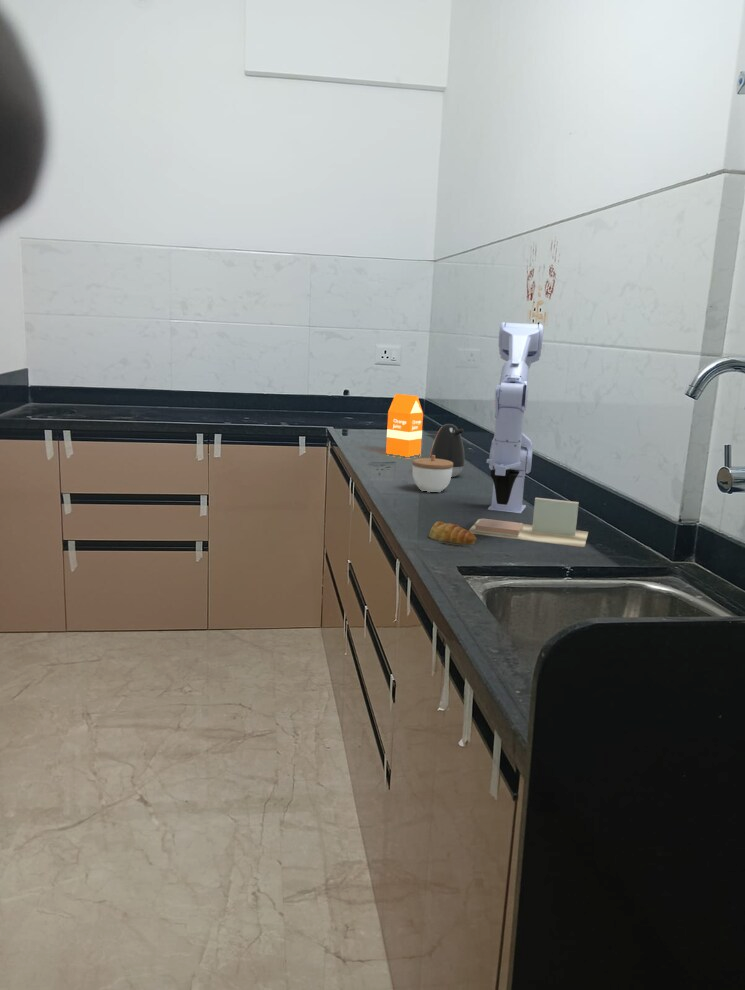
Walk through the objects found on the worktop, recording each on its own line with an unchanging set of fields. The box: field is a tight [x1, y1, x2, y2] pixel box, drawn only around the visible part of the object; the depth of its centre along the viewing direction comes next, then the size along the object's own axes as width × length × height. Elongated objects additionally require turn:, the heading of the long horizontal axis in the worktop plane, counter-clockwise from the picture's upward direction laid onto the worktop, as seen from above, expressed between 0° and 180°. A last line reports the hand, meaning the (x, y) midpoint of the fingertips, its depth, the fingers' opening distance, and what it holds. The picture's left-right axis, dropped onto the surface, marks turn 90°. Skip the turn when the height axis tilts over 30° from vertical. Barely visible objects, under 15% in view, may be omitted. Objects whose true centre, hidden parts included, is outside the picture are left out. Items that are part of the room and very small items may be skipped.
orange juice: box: [385, 393, 424, 457], centre depth 272 cm, size 8×9×20 cm
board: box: [468, 518, 589, 548], centre depth 177 cm, size 14×24×1 cm, turn 72°
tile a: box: [475, 518, 524, 537], centre depth 177 cm, size 1×9×7 cm
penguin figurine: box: [429, 423, 466, 478], centre depth 239 cm, size 10×10×15 cm
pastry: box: [428, 520, 477, 547], centre depth 168 cm, size 9×7×4 cm
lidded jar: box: [411, 455, 453, 493], centre depth 218 cm, size 11×11×9 cm
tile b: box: [532, 497, 579, 536], centre depth 177 cm, size 1×9×7 cm, turn 73°
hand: (502, 503), depth 177 cm, fingers closed
